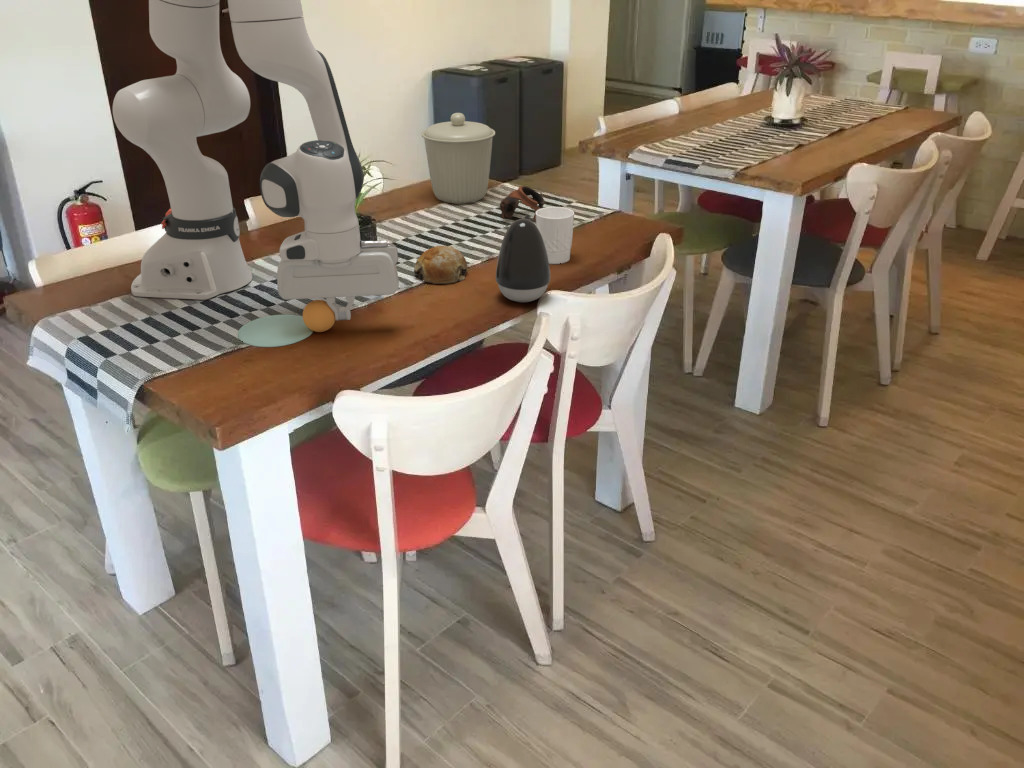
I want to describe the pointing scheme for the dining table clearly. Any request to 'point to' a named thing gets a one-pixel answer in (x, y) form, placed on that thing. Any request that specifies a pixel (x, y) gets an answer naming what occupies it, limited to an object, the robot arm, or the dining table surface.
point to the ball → (318, 316)
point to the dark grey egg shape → (523, 262)
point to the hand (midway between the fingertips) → (343, 318)
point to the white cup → (556, 232)
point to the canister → (459, 159)
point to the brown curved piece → (512, 201)
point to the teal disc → (274, 331)
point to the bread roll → (441, 265)
